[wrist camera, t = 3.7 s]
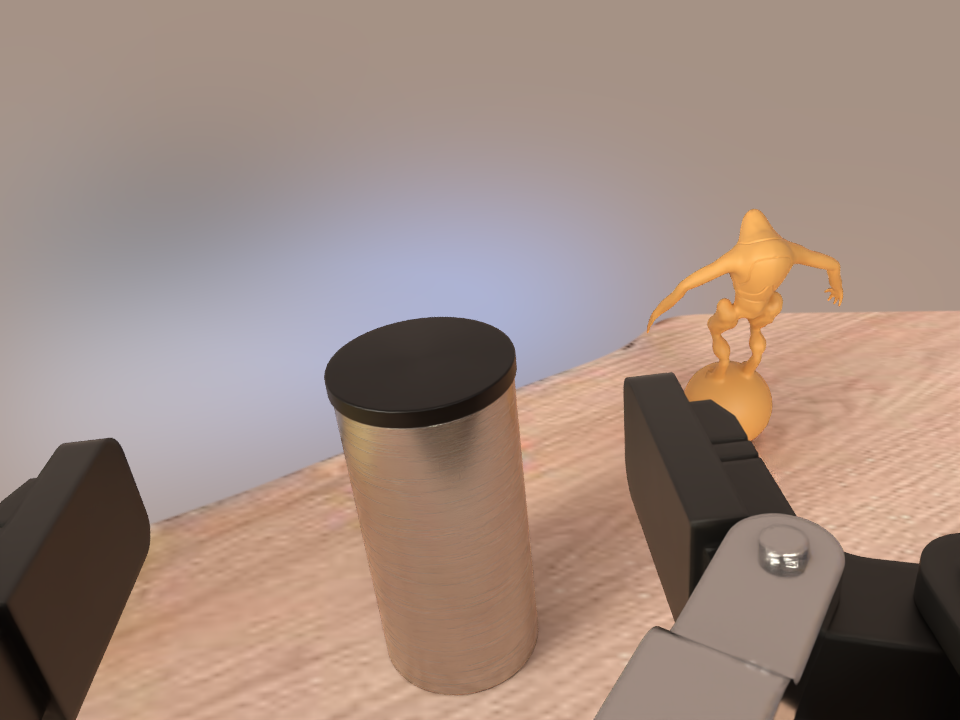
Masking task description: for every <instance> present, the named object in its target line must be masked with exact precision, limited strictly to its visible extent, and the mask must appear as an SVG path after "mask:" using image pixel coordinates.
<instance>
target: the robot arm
mask: <svg viewBox="0 0 960 720" xmlns="http://www.w3.org/2000/svg"><path fill="white" fill-rule="evenodd" d="M624 430H625V463H626V473H627V480H628V485H629V490H630V494H631V497H632V501H633V503H634V506H635V509H636V512H637V515H638V518H639V521H640V523H641V526H642V529H643V532H644V535H645V538H646V541H647V544H648V546H649V549H650V552H651V555H652V558H653V561H654V564H655V566H656V569H657V572H658V575H659V578H660V581H661V584H662V586H663V589H664V592H665V595H666V598H667V601H668V604H669V606H670V609H671V612H672V615H673V618H674V621H675V624H674V626H673V627H672V628H671V630H670V631H669V630H666V629H664V628H661V627H659V626H655V627H653V628H652V629H650V630H649V631H648V633H647V634H646V635H645V636H644V638H643V639H642V641H641V642H640V644H639V646H638V647H637V649H636V651H635V652H634V654H633V655H632V657H631V659H630V660H629V662H628V664H627V665H626V667H625V669H624V670H623V672H622V674H621V675H620V677H619V678H618V680H617V682H616V683H615V685H614V687H613V688H612V690H611V692H610V693H609V695H608V697H607V698H606V700H605V701H604V703H603V705H602V706H601V708H600V710H599V711H598V713H597V715H596V716H595V718H594V720H960V533H956V534H949V535H945V536H942V537H939V538H937V539H935V540H933V541H931V542H930V543H929V544H928V545H927V546H926V547H925V548H924V550H923V551H922V554H921V558H920V563H919V564H916V563H907V562H898V561H889V560H881V559H872V558H866V557H860V556H856V555H852V554H849V553H846V552H843V548H842V547H841V545H840V543H839V542H838V541H837V539H836V538H835V537H834V536H833V535H832V534H831V533H829V532H828V531H827V530H826V529H824V528H823V527H821V526H819V525H818V524H816V523H814V522H811V521H809V520H806V519H804V518H801V517H797V516H796V514H795V513H794V511H793V510H792V508H791V506H790V505H789V503H788V501H787V500H786V498H785V496H784V495H783V493H782V492H781V490H780V488H779V487H778V485H777V483H776V482H775V480H774V478H773V477H772V475H771V474H770V472H769V470H768V469H767V467H766V465H765V464H764V462H763V460H762V459H761V458H759V457H758V452H757V451H756V449H755V447H754V446H753V444H752V442H751V441H748V436H747V434H746V433H745V431H744V429H743V428H742V426H741V424H740V423H739V421H738V420H737V418H736V416H735V415H733V414H732V413H730V412H729V411H727V410H726V409H724V408H723V407H722V406H720V405H719V404H717V403H716V402H714V401H713V400H711V399H709V400H700V401H692V402H689V400H688V398H687V397H686V395H685V393H684V391H683V389H682V387H681V385H680V384H679V382H678V380H677V378H676V376H675V375H674V373H672V372H670V373H662V374H653V375H645V376H636V377H628V378H625V381H624ZM149 545H150V524H149V519H148V515H147V512H146V509H145V507H144V504H143V501H142V499H141V496H140V494H139V491H138V488H137V486H136V483H135V481H134V478H133V475H132V473H131V470H130V467H129V465H128V462H127V459H126V457H125V454H124V452H123V449H122V447H121V446H120V444H119V443H118V441H116V440H115V439H113V438H105V439H96V440H88V441H79V442H71V443H64V444H62V445H60V446H59V447H58V448H57V449H56V451H55V452H54V454H53V455H52V456H51V458H50V459H49V461H48V462H47V464H46V465H45V467H44V468H43V470H42V471H41V473H40V474H39V475H38V477H37V478H33V479H29V480H28V481H27V482H26V483H24V484H23V485H22V486H21V487H19V488H18V489H17V490H15V491H14V492H13V493H12V494H10V495H9V496H8V497H7V498H5V499H4V500H3V501H2V502H1V503H0V720H76V718H77V715H78V713H79V711H80V708H81V706H82V704H83V701H84V699H85V697H86V695H87V692H88V690H89V688H90V685H91V683H92V681H93V678H94V676H95V674H96V672H97V669H98V667H99V665H100V662H101V660H102V658H103V655H104V653H105V651H106V649H107V646H108V644H109V642H110V639H111V637H112V635H113V632H114V630H115V628H116V625H117V623H118V621H119V619H120V616H121V614H122V612H123V609H124V607H125V605H126V602H127V600H128V598H129V596H130V593H131V591H132V589H133V586H134V584H135V582H136V579H137V577H138V575H139V573H140V570H141V568H142V566H143V563H144V561H145V559H146V556H147V554H148V550H149Z"/></svg>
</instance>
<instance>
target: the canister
mask: <svg viewBox="0 0 960 720" xmlns="http://www.w3.org/2000/svg"><path fill="white" fill-rule="evenodd" d="M516 370H517V366H516V355H515V348H514V345H513V343H512V342H511V340H510V339H509V337H508V336H507V335H505V333H503V332H502V331H501V330H499V329H497V328H495V327H493V326H491V325H489V324H486V323H483V322H479V321H476V320H471V319H465V318H456V317H429V318H419V319H412V320H407V321H402V322H397V323H393V324H390V325H386V326H383V327H380V328H377V329H374V330H372V331H370V332H367V333H365V334H363V335H361V336H359V337H357V338H355V339H353V340H352V341H350V342H349V343H347V344H346V345H345V346H343V347H342V348H341V349H339V350H338V351H337V352H336V353H335V354H334V356H333V357H332V358H331V359H330V361H329V363H328V364H327V367H326V370H325V375H324V380H325V385H326V389H327V394H328V398H329V400H330V402H331V404H332V405H333V406H334V409H335V414H336V418H337V423H338V428H339V432H340V436H341V441H342V445H343V450H344V454H345V459H346V463H347V468H348V472H349V477H350V481H351V486H352V490H353V495H354V499H355V504H356V508H357V513H358V517H359V522H360V526H361V531H362V535H363V540H364V544H365V549H366V553H367V558H368V562H369V567H370V571H371V576H372V580H373V585H374V589H375V594H376V598H377V603H378V607H379V612H380V616H381V621H382V625H383V630H384V634H385V639H386V643H387V648H388V652H389V656H390V659H391V661H392V663H393V665H394V666H395V668H396V669H397V671H398V672H399V673H400V674H401V675H402V676H403V677H404V678H405V679H406V680H408V681H409V682H410V683H412V684H414V685H415V686H417V687H419V688H422V689H424V690H427V691H430V692H433V693H438V694H444V695H464V694H471V693H477V692H480V691H484V690H487V689H489V688H492V687H494V686H497V685H498V684H500V683H502V682H504V681H506V680H507V679H509V678H510V677H511V676H513V675H514V674H515V673H516V672H517V671H518V670H520V669H521V668H522V666H523V665H524V664H525V663H526V662H527V660H528V659H529V657H530V655H531V654H532V652H533V650H534V647H535V645H536V641H537V637H538V619H537V609H536V598H535V588H534V577H533V567H532V556H531V546H530V535H529V525H528V515H527V504H526V494H525V483H524V473H523V462H522V452H521V441H520V431H519V420H518V410H517V399H516V389H515V379H514V378H515V376H516Z"/></svg>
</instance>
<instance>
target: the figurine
mask: <svg viewBox="0 0 960 720" xmlns="http://www.w3.org/2000/svg"><path fill="white" fill-rule="evenodd" d="M793 264H802V265H806V266H810V267H815V268H819V269H825V270H827V273H828V276H829V283H830V286H831V287H832V288H829V289H827V290H826V291H825V292H831V295H830V297H829V298H828V301H829V300H830V299H831V298H832V297H835V300H834V304H835V303H836V302H837V300H838V299H839V305H838V306H840V305H841V302H842V299H843V289H842V280H841V276H840V264H839V262H838V261H837V260H835V259H834V258H832V257H830V256H828V255H825V254H822V253H819V252H816V251H811V250H809V249H807V248H805V247H803V246H801V245H799V244H796V243H792V242H790V241H787V240H785V239H784V238H782V237H781V236H780V235H779V234H778V233H777V232H776V231H775V230H774V229H773V227H772V226H771V225H770V223H769V222H768V220H767V218H766V217H765V215H764V214H763V213H762V212H761V211H759V210H757V209H752V210H749V211H748V212H747V213H746V214H745V216H744V218H743V220H742V224H741V229H740V236H739V240H738V242H737V244H736V245H735V246H734V247H733V248H732V249H731V250H730V251H729V252H727V253H726V254H724V255H722V256H721V257H720V258H719V259H717V260H716V261H715V262H713V263H711V264H709V265H707V266H705V267H703V268H701V269H699V270H698V271H696V272H694V273H693V274H691V275H689V276H688V277H687V278H686V279H684V280H683V281H681V282H680V283H679V284H678V286H677V287H676V288H675V290H674V291H673V292H672V293H671V294H670V295H668V296H667V297H666V298H665V299H664V300H663V301H661V303H660V304H659V305H658V307H657V308H656V309H655V310H654V311H653V313H652V315H651V317H650V319H649V323H648V326H647V333H648V332H649V329H650V327H651V325H652V324H653V322H654V321H655V319H656V318H658V317H659V316H660V315H661V314H662V313H664V312H666V311H667V310H669V309H670V308H671V307H673V306H674V305H675V304H676V303H677V302H678V301H679V300H680V299H681V298H682V297H683V296H684V295H685V293H686V292H687V291H688V290H690V289H693V288H695V287H698V286H700V285H703V284H704V283H707V282H709V281H711V280H713V279H715V278H717V277H719V276H721V275H724V274H727V273H729V274H730V277H731V279H732V281H733V286H734V289H735V291H736V293H735V301H734V303H733V304H731V302H730V300H728V299H726V298H724V299H721V300H720V301H719V302H718V304H717V311H716V313H715V314H714V315H713V316H712V317H710V318H709V320H708V323H707V325H708V328H709V330H710V332H711V335H712V339H713V345H712V347H713V352H714V354H715V355H716V356H717V357H718V358H719V362H715V363H712V364H709V365H707V366H705V367H703V368H702V369H700V370H699V371H698V372H696V373H695V374H694V376H693V377H692V378H691V379H690V381H689V382H688V384H687V386H686V388H685V391H684V393H685V395H686V397H687V398H688V400H689V402H692V401H700V400H709V399H711V400H713V401H714V402H716V403H717V404H719V405H720V406H722V407H723V408H724V409H726V410H727V411H729V412H730V413H732V414H733V415H735V416H736V418H737V420H738V421H739V423H740V424H741V426H742V428H743V429H744V431H745V433H746V434H747V436H748V441H751V440H753V439H754V438H756V437H757V436H758V435H759V434H760V433H761V432H762V431H763V430H764V428H765V427H766V425H767V424H768V422H769V419H770V416H771V412H772V397H771V393H770V390H769V387H768V385H767V383H766V382H765V380H764V379H763V378H762V376H761V375H760V374H759V373H758V372H756V371H755V369H756V368H757V366H758V365H759V363H760V361H761V356H762V353H763V352H764V350H765V348H766V340H765V338H764V336H763V335H762V334H761V331H760V329H761V328H762V327H765V326H766V325H767V324H770V323H772V322H773V320H774V318H775V317H776V316H777V315H778V314H779V313H780V311H781V310H782V304H783V300H782V296H781V295H780V294H779V293H778V292H775V290H776V289H777V288H778V287H779V286H780V284H781V283H782V282H783V280H784V279H785V278H786V276H787V274H788V273H789V271H790V269H791V268H792V266H793ZM740 318H747V319H748V321H749V323H750V332H751V336H750V340H749V346H750V349H751V350H752V356H751V357H750V359H749V360H748V361H744V362H743V363H739V362H734V361H729V355H730V347H729V345H728V343H727V341H726V340H725V339H724V338H723V337H722V336H721V333H723V332H724V331H726V330H729V329H732V328H734V327H735V326H736V325H737V322H738V319H740Z"/></svg>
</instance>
